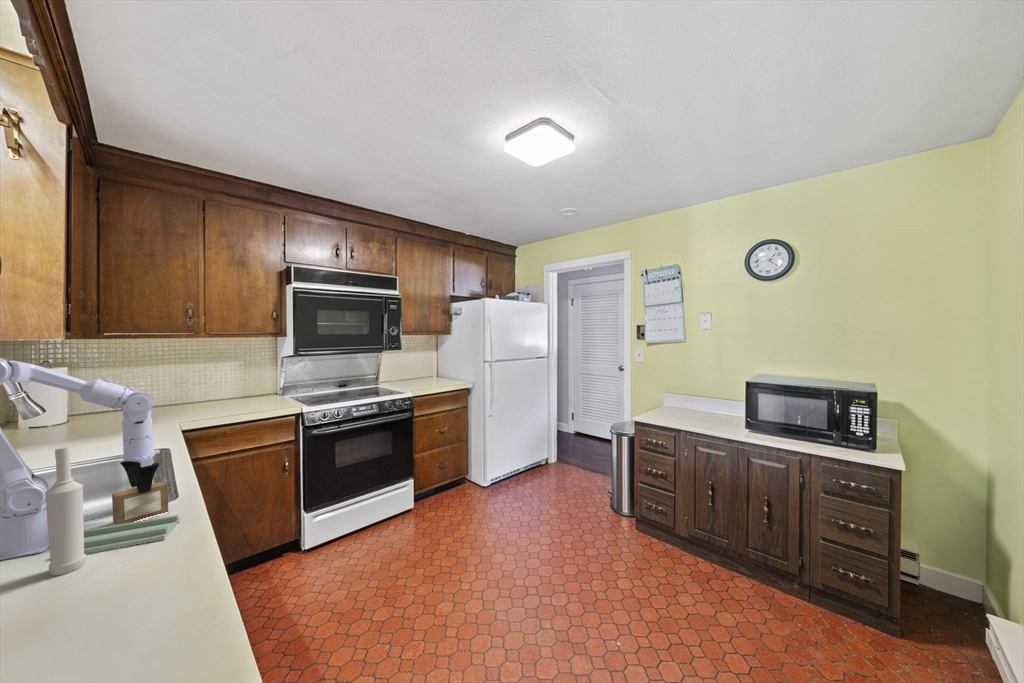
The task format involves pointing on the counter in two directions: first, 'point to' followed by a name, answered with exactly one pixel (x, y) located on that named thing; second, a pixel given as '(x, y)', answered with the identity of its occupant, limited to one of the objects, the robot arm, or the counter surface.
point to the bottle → (65, 518)
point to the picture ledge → (128, 534)
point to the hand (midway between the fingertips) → (140, 489)
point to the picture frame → (139, 503)
